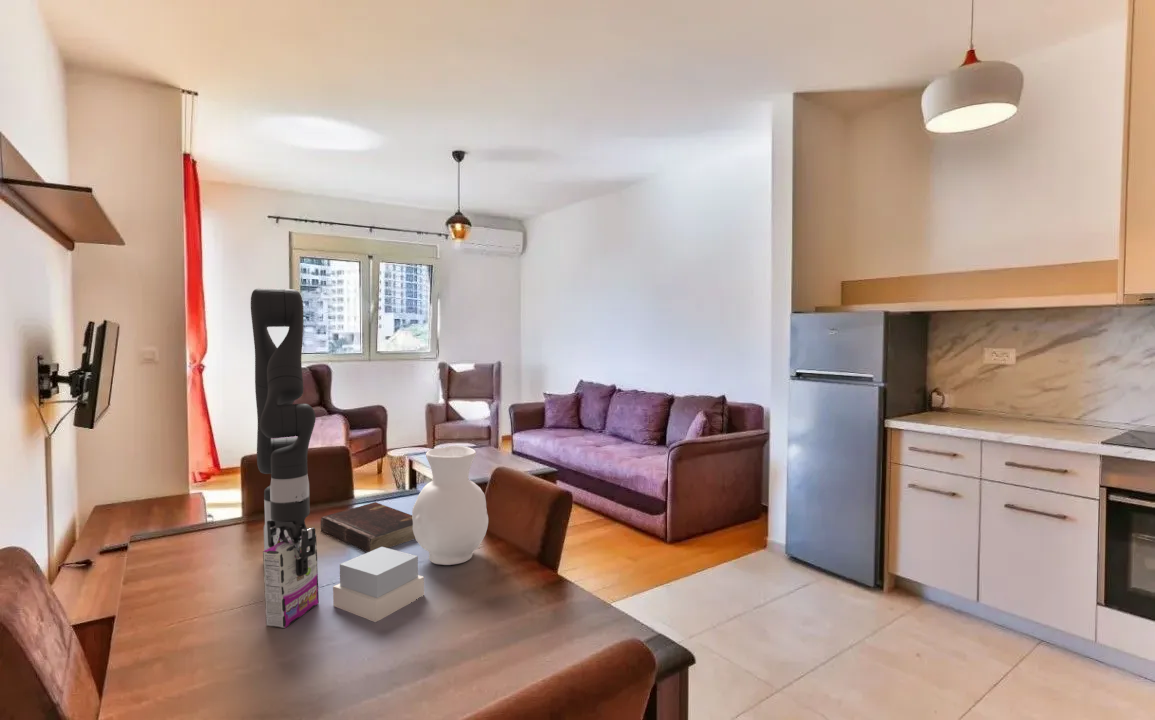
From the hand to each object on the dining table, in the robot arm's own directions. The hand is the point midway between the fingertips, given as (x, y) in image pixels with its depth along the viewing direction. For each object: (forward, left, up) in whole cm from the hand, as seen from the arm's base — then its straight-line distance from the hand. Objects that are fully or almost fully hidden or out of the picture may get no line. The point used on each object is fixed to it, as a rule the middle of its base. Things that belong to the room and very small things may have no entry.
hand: (291, 570), depth 121 cm
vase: (+9, +40, -10) cm, 42 cm away
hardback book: (-26, +43, -11) cm, 51 cm away
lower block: (+11, +14, -10) cm, 21 cm away
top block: (+11, +14, -5) cm, 19 cm away
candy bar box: (0, 0, -10) cm, 10 cm away
